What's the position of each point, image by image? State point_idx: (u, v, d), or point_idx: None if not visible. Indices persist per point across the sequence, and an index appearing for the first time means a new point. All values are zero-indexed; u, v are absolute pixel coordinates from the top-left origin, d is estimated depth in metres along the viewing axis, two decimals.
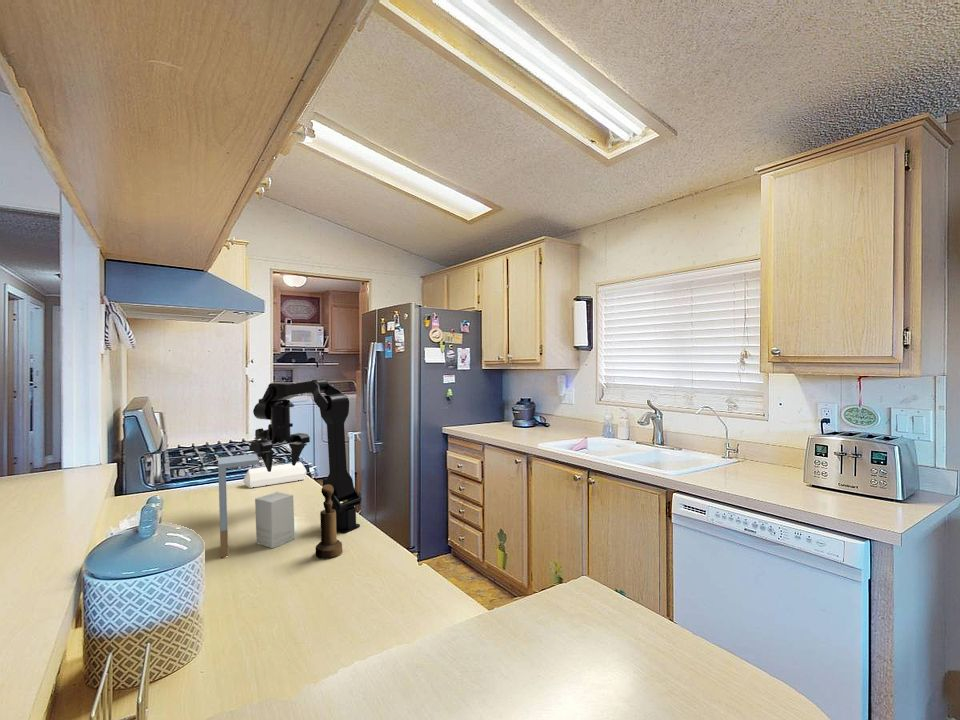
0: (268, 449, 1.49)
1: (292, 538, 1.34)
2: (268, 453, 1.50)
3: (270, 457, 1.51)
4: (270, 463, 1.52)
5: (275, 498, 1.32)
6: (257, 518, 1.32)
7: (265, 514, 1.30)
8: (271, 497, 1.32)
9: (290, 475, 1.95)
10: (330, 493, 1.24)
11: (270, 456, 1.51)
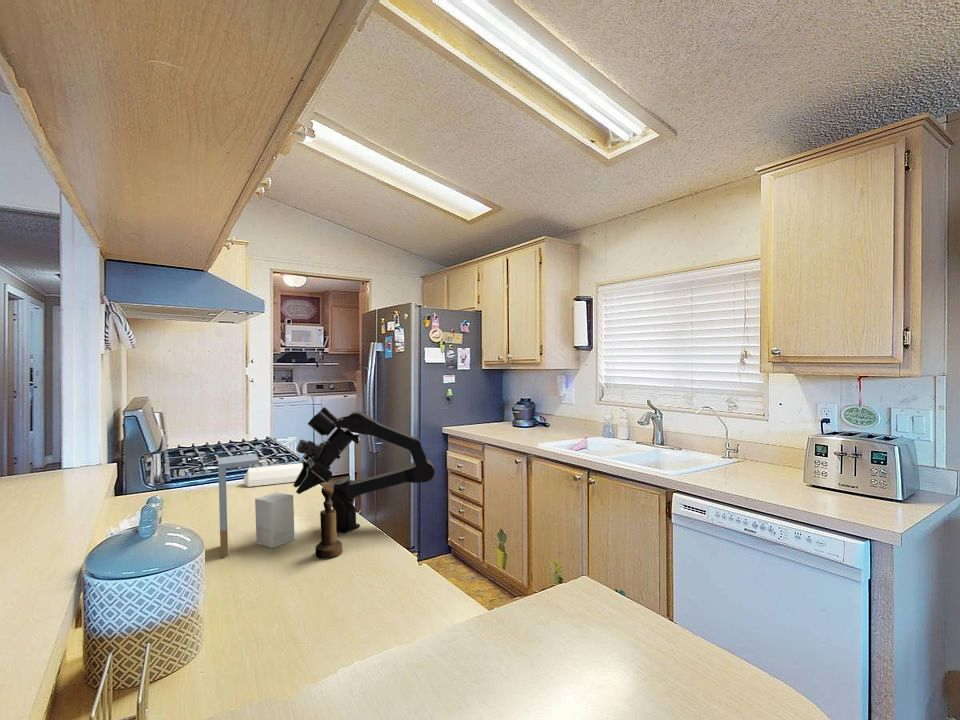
0: None
1: (292, 538, 1.34)
2: None
3: None
4: None
5: (275, 498, 1.32)
6: (257, 518, 1.32)
7: (265, 514, 1.30)
8: (271, 497, 1.33)
9: (289, 476, 1.94)
10: (330, 493, 1.24)
11: None
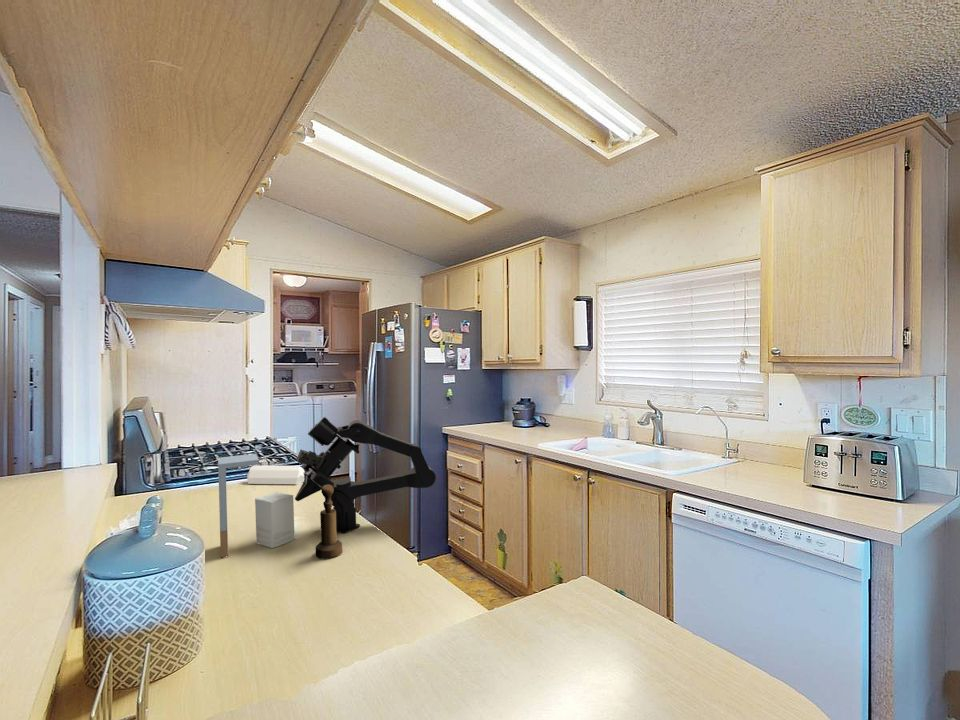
0: None
1: (292, 538, 1.34)
2: None
3: None
4: None
5: (275, 498, 1.32)
6: (257, 518, 1.32)
7: (265, 514, 1.30)
8: (271, 497, 1.33)
9: (283, 478, 1.91)
10: (330, 493, 1.24)
11: None
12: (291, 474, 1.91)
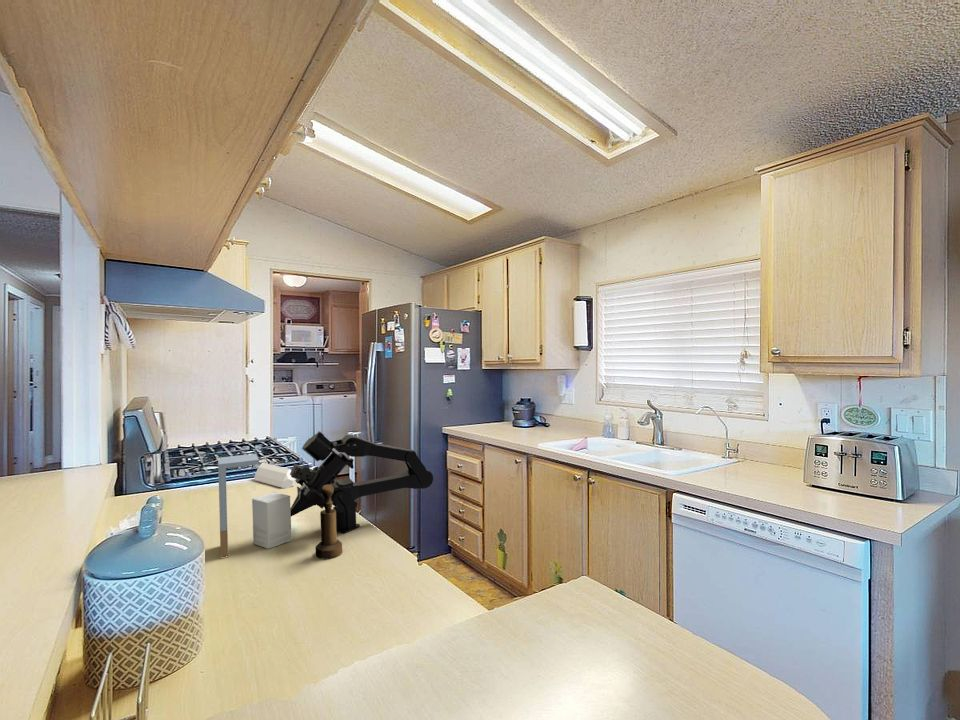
0: None
1: (289, 538, 1.33)
2: None
3: None
4: None
5: (271, 498, 1.31)
6: (254, 518, 1.31)
7: (261, 515, 1.29)
8: (268, 497, 1.32)
9: (275, 479, 1.89)
10: (330, 493, 1.24)
11: None
12: (280, 476, 1.88)
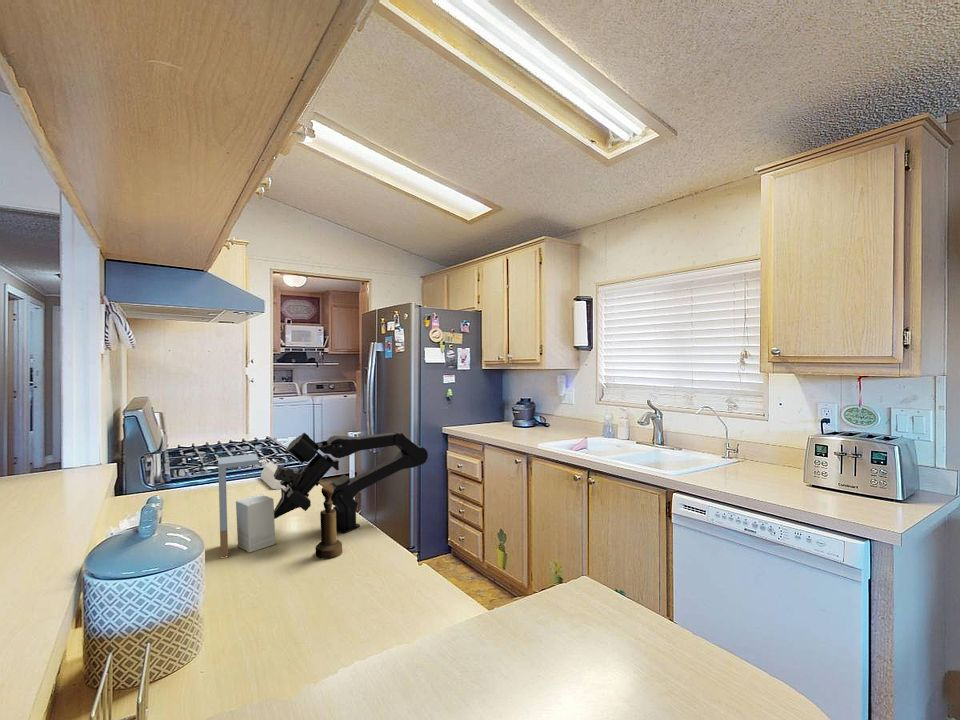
0: None
1: (272, 542, 1.31)
2: None
3: None
4: None
5: (253, 501, 1.29)
6: (237, 521, 1.30)
7: (243, 517, 1.27)
8: (251, 500, 1.30)
9: (270, 479, 1.89)
10: (330, 493, 1.24)
11: None
12: (273, 477, 1.87)
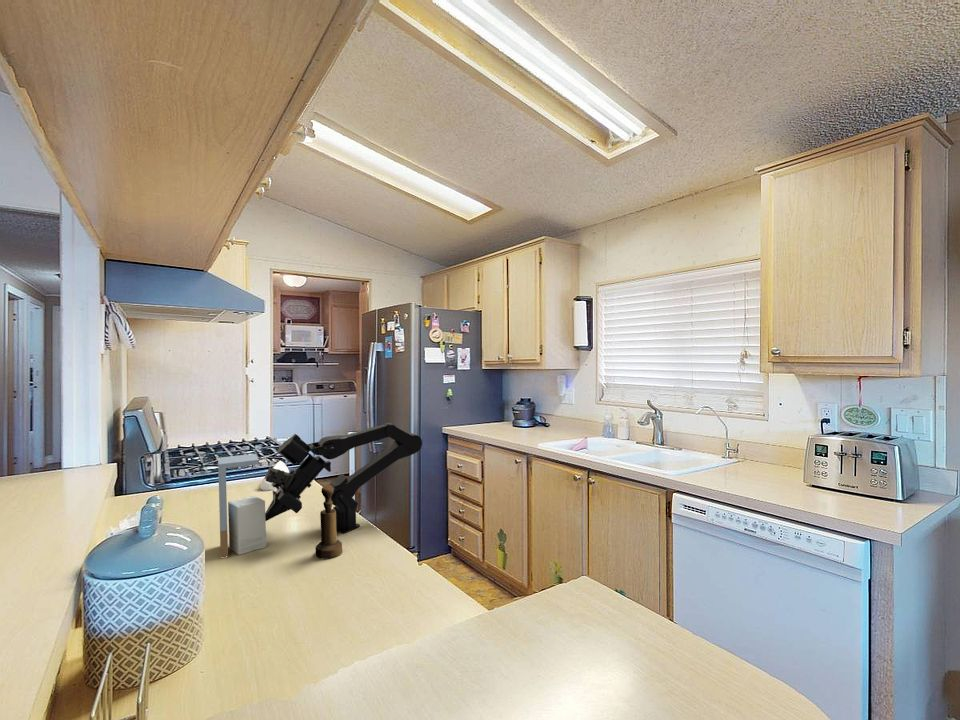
0: None
1: (263, 545, 1.29)
2: None
3: None
4: None
5: (245, 503, 1.28)
6: (229, 522, 1.29)
7: (233, 519, 1.26)
8: (242, 501, 1.29)
9: None
10: (330, 493, 1.24)
11: None
12: None
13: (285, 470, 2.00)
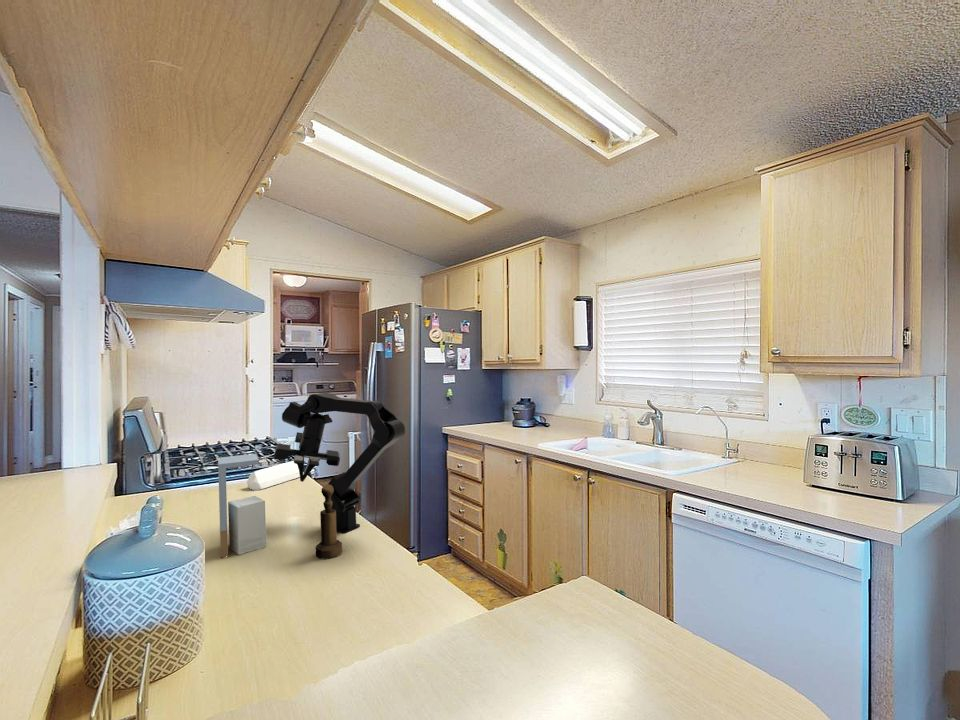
0: (282, 458, 1.41)
1: (263, 545, 1.29)
2: (298, 463, 1.43)
3: (300, 468, 1.44)
4: (300, 473, 1.45)
5: (245, 503, 1.28)
6: (229, 522, 1.29)
7: (233, 519, 1.26)
8: (242, 501, 1.29)
9: None
10: (330, 493, 1.24)
11: (300, 467, 1.44)
12: None
13: (290, 471, 1.98)
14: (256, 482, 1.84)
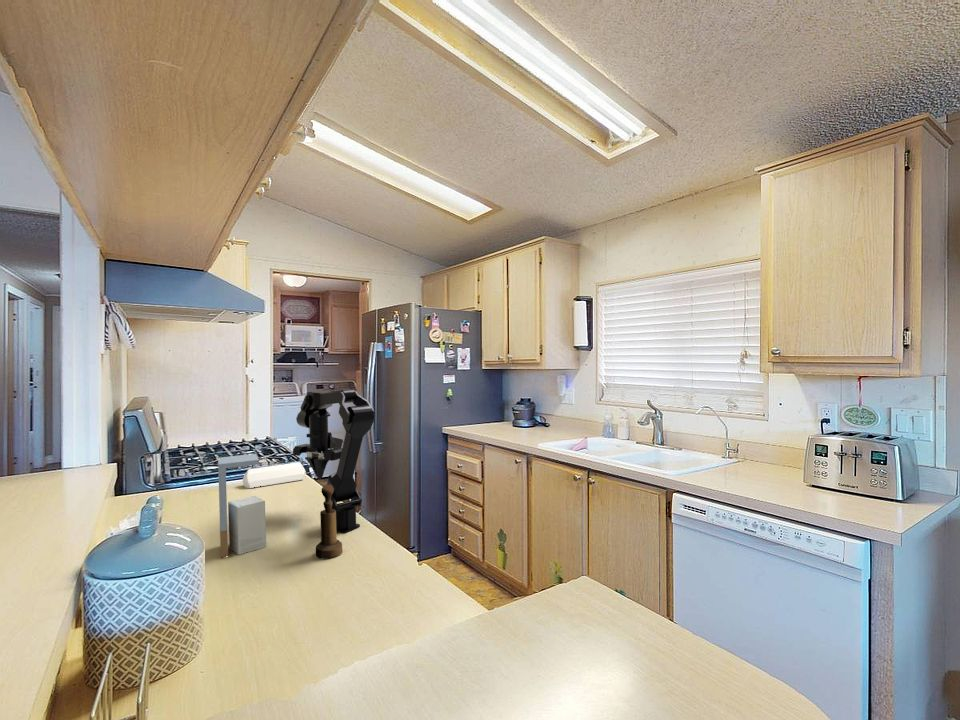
0: (296, 454, 1.54)
1: (263, 545, 1.29)
2: (307, 459, 1.52)
3: (310, 464, 1.52)
4: (313, 470, 1.53)
5: (245, 503, 1.28)
6: (229, 522, 1.29)
7: (233, 519, 1.26)
8: (242, 501, 1.29)
9: None
10: (330, 493, 1.24)
11: (310, 463, 1.52)
12: None
13: (290, 473, 1.95)
14: (246, 481, 1.86)
